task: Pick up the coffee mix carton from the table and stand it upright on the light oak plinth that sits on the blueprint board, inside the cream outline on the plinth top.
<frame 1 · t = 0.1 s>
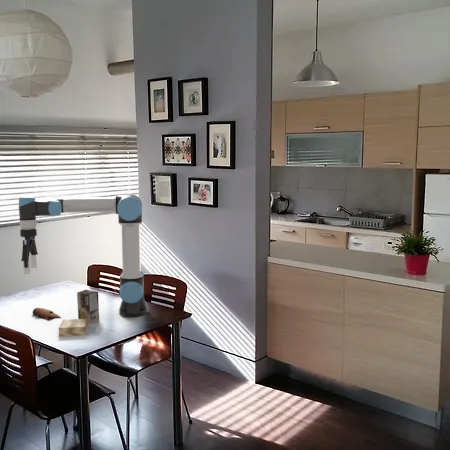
hand: (30, 270, 248), 28 cm above the table, tool pointing down, fingers open, 13 cm apart
oak plinth: (74, 331, 241), resting on blueprint board
coffee box: (88, 322, 256), on the table
blueprint board: (80, 332, 241), on the table
sunglasses case: (47, 317, 266), on the table
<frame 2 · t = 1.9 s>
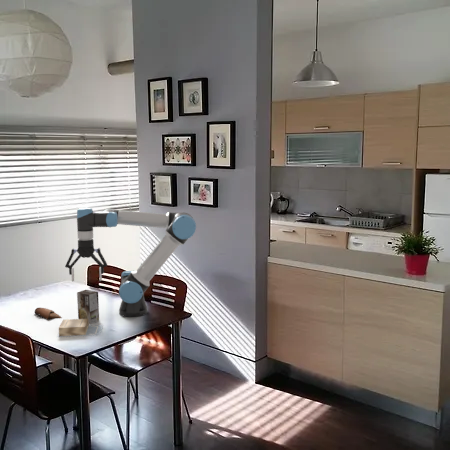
hand: (86, 280, 253), 22 cm above the table, tool pointing down, fingers open, 13 cm apart
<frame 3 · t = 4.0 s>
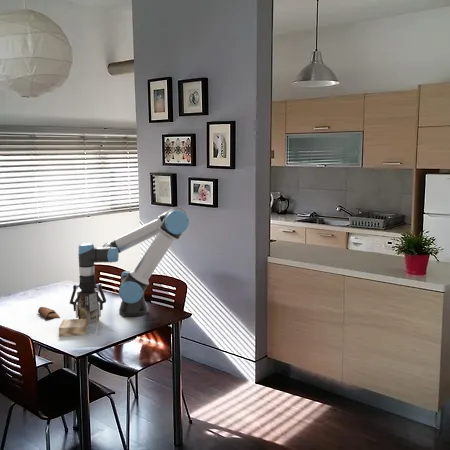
hand: (88, 316, 256), 3 cm above the table, tool pointing down, fingers closed on coffee box, 10 cm apart
coffee box: (88, 322, 256), on the table, touching gripper
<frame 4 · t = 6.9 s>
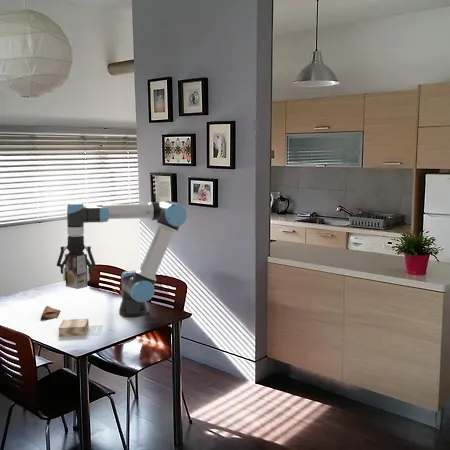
hand: (76, 280, 243), 25 cm above the table, tool pointing down, fingers closed on coffee box, 10 cm apart
coffee box: (76, 287, 244), point 21 cm above the table, touching gripper
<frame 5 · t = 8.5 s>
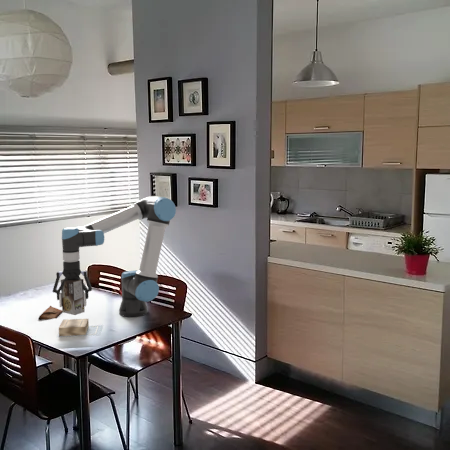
hand: (73, 305, 239), 13 cm above the table, tool pointing down, fingers closed on coffee box, 10 cm apart
coffee box: (73, 312, 240), point 10 cm above the table, touching gripper
when the fingers open (9 cm above the table, at t = 9.9 s): coffee box stays where it is, resting on oak plinth.
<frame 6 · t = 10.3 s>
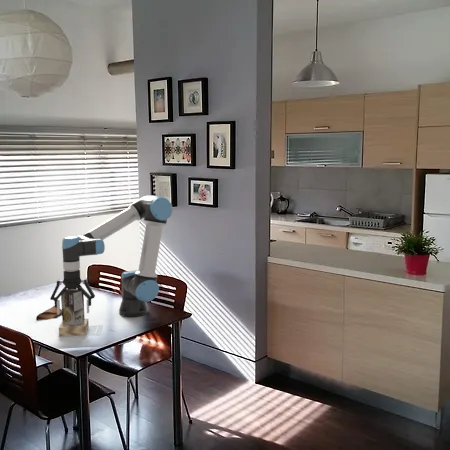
hand: (73, 313, 240), 10 cm above the table, tool pointing down, fingers open, 13 cm apart
coffee box: (73, 323, 240), point 5 cm above the table, touching oak plinth
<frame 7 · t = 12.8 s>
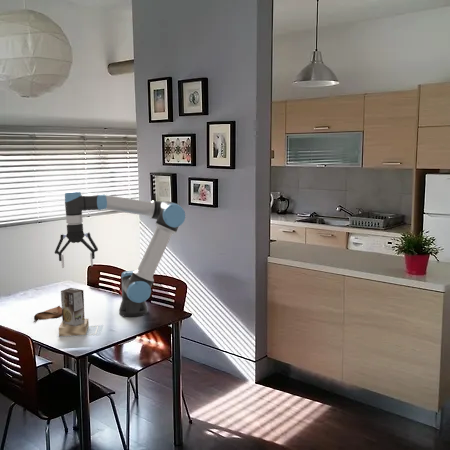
hand: (77, 266, 246), 31 cm above the table, tool pointing down, fingers open, 13 cm apart
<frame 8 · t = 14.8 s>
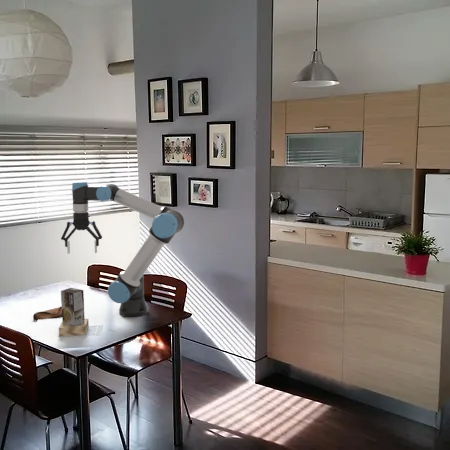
hand: (82, 252, 259), 35 cm above the table, tool pointing down, fingers open, 13 cm apart
at the end: coffee box inside the target area (0.2 cm from its centre), point 4.9 cm above the table; coffee box tilted 0°; the gripper is holding nothing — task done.
